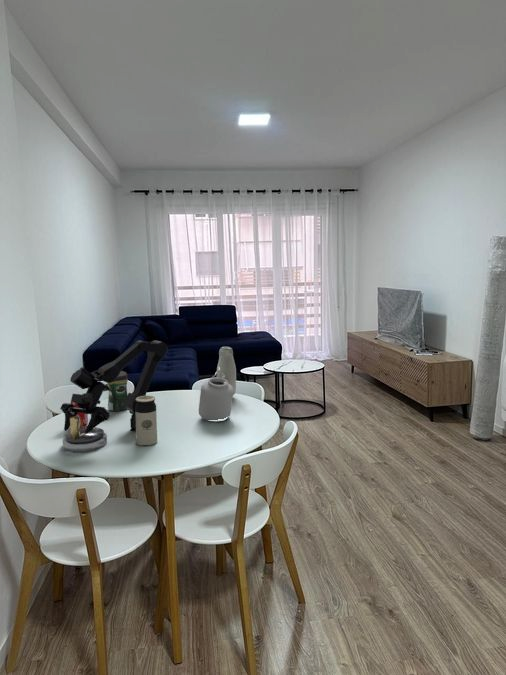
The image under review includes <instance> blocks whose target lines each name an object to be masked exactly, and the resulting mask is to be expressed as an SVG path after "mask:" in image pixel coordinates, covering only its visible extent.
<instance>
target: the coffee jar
mask: <svg viewBox="0 0 506 675" xmlns="http://www.w3.org/2000/svg"><path fill="white" fill-rule="evenodd" d="M128 380H129V379H128V373H127V371H124V370H121V372H120V374H119V375H118V377H117V378H116V379H115V380H114V381H113V382H111V383H107V384H108V387H109V389H110V390H109V391H108V398H107V399H108V400H107V401H108V402H107V408H108V410H109V411H110V412H120V410H121V411H125V410H127V409H126V406H125V403H126V402H125V400H126V399H127V396H128V389H127V385H128Z"/></svg>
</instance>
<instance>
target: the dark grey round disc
mask: <svg viewBox="0 0 506 675" xmlns="http://www.w3.org/2000/svg"><path fill="white" fill-rule="evenodd" d="M107 444H108V436H107V433H105V432H104V437H103V438H101V439H100V440H97V441H95V442H91V443H85V444H72V443H68V442H66V440H65V437H64V438H63V439H62V449H63V450H64V451H66V452H68V453H73V454H74V453H77V454H78V453H80V454H81V453H87V452H88V453H89V452H93V451H96V450H99V449H102V448H104V447H105V446H106V445H107Z"/></svg>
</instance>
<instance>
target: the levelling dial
mask: <svg viewBox="0 0 506 675" xmlns="http://www.w3.org/2000/svg"><path fill="white" fill-rule="evenodd" d="M86 428H87V426H85V427H83V428H79V417H71V418H70V427H69V429H70V431H68V432H66V434H65V436H64V438H65V440H66V442H68V443H72V444H85V443H91V442H95V441H97V440H100V439H101V438H103V437H104V433H105V430H104V429H103V428H100V427H97V426H96V427H95V428H93V429H92V430H91V431H90V432H89V433H87V434H86V433H85V430H86Z"/></svg>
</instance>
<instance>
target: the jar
mask: <svg viewBox="0 0 506 675" xmlns="http://www.w3.org/2000/svg"><path fill="white" fill-rule="evenodd" d="M219 370H220V369H219ZM214 376H217V371H216V372H215V374H214V375H213V376H212V377H210V378H209V379H208V380H207V381H205V382H203V383H202V385H200V386H201V387H200V395H199V401H198V402H199V404H198V414H199V416H200V417H201V418H202V419H204V420H205V419H206V420H205V421H207V420H218V419H224V418H226V417H228V416H229V418H231V412H232V407H233V406H232V405H233V397H234V396H233V387H232V386H231V385H230V384H228V381H227V380H225V379H223V377H222V378H217V377H214Z"/></svg>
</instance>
